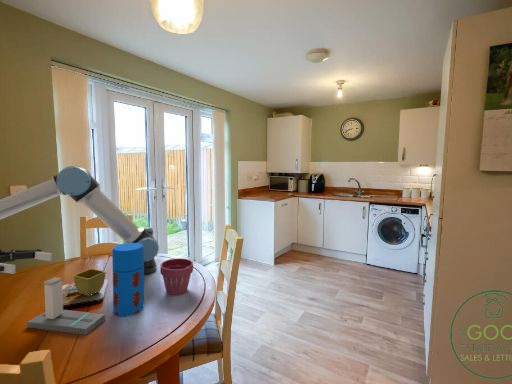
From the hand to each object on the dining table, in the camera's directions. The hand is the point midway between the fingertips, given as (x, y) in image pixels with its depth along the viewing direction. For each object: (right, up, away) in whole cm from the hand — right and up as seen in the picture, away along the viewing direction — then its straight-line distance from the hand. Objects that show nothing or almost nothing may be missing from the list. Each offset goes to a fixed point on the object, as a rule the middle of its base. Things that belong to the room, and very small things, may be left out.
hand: (34, 262), depth 95 cm
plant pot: (+43, -20, +26) cm, 54 cm away
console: (+12, -21, -1) cm, 24 cm away
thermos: (+29, -21, +10) cm, 37 cm away
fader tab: (+7, -19, 0) cm, 20 cm away
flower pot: (+7, -19, +22) cm, 30 cm away
